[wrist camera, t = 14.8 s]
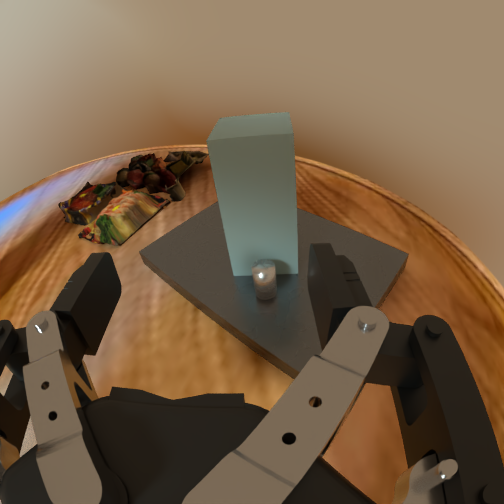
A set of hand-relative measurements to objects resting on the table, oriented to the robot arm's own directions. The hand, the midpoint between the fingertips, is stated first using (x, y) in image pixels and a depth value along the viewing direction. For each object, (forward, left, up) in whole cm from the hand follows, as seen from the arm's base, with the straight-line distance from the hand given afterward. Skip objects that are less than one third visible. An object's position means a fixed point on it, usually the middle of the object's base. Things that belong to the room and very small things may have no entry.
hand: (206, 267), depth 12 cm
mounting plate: (-6, +9, -10) cm, 15 cm away
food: (-31, +9, -11) cm, 34 cm away
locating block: (-6, +9, -9) cm, 14 cm away
